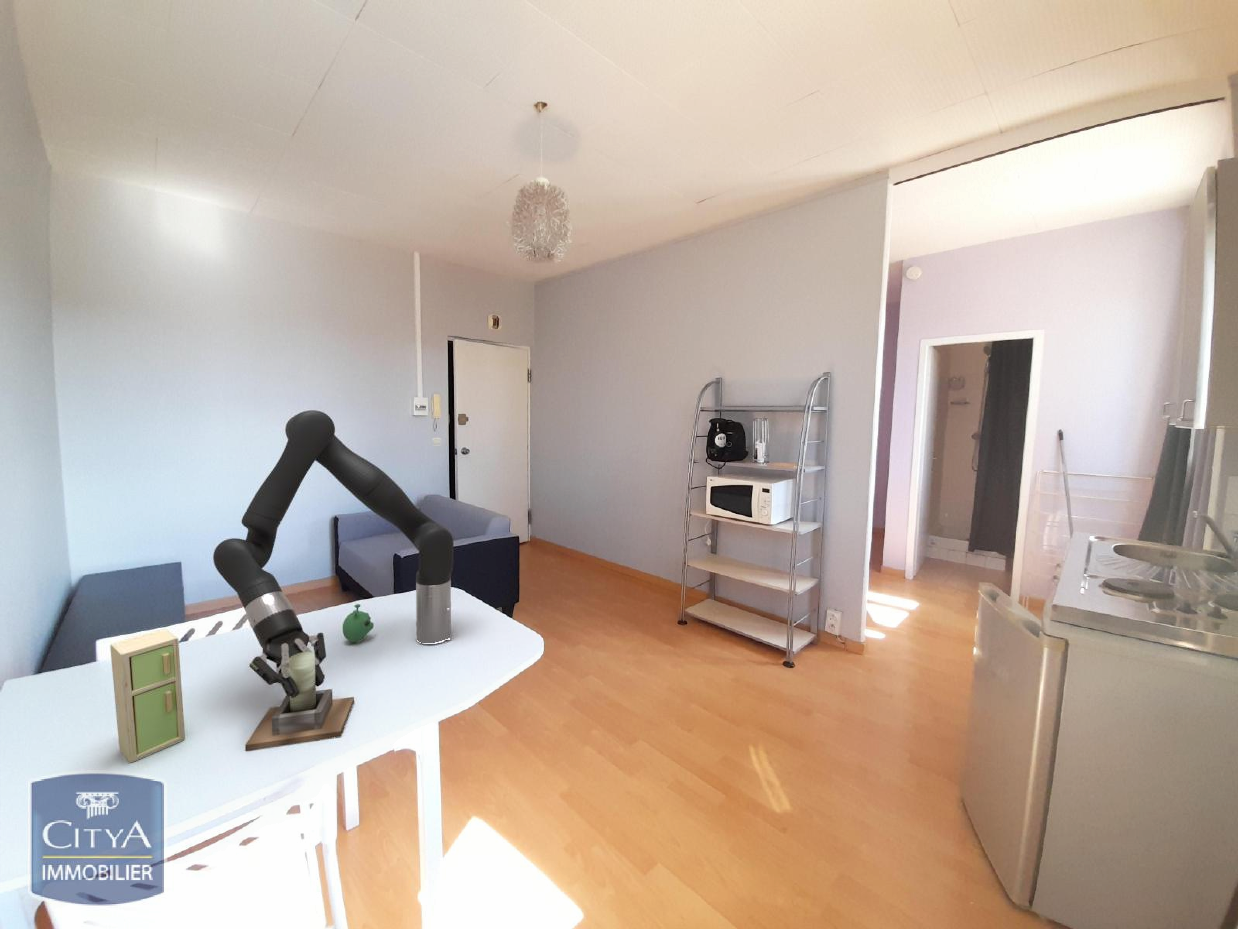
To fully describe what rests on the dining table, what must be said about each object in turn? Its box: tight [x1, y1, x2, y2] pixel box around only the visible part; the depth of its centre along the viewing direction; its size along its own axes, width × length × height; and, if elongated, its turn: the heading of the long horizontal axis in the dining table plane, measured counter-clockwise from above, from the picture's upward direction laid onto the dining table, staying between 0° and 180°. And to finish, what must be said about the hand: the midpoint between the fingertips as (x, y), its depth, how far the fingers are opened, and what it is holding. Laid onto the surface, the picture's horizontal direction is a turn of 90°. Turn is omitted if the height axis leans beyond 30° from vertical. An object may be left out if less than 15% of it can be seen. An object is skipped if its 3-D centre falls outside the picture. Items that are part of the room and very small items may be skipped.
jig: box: [244, 688, 355, 752], centre depth 98 cm, size 16×12×5 cm
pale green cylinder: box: [289, 651, 317, 713], centre depth 98 cm, size 4×4×12 cm
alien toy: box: [342, 603, 375, 643], centre depth 134 cm, size 7×8×10 cm
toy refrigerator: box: [109, 628, 186, 764], centre depth 90 cm, size 8×7×21 cm
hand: (308, 689), depth 97 cm, fingers closed on pale green cylinder, 4 cm apart
